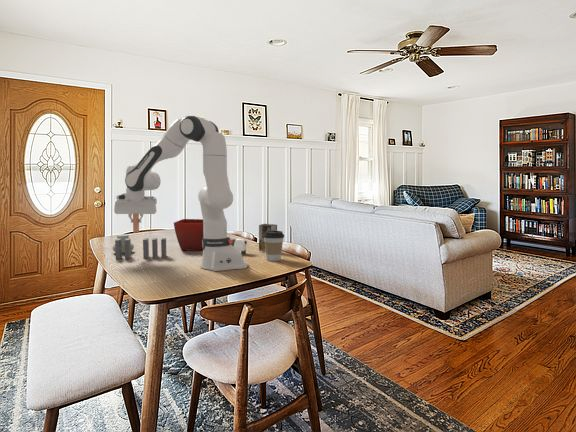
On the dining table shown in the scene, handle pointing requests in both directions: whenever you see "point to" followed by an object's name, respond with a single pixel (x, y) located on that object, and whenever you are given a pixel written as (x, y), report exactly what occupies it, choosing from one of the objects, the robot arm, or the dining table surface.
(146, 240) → the domino
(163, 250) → the domino
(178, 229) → the plant pot
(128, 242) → the domino
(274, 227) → the coffee box
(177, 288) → the dining table surface
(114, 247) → the air freshener
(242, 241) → the giant panda
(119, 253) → the domino
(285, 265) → the dining table surface
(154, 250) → the domino
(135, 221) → the domino
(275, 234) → the coffee cup
